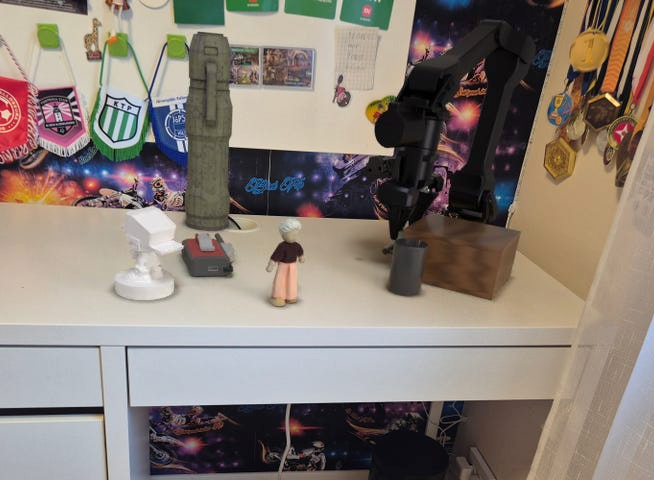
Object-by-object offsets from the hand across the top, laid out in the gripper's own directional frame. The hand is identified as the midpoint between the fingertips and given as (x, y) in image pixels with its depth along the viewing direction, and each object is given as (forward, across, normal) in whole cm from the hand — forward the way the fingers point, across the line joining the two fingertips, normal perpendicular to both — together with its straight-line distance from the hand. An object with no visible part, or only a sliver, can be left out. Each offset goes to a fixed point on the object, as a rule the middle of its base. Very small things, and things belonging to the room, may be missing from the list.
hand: (402, 234), depth 116 cm
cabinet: (+5, 0, +11) cm, 12 cm away
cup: (+5, +13, +6) cm, 15 cm away
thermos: (+8, +4, -40) cm, 41 cm away
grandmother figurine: (+6, +30, -7) cm, 31 cm away
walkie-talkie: (+7, +22, -27) cm, 35 cm away
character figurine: (+7, +40, -24) cm, 48 cm away
